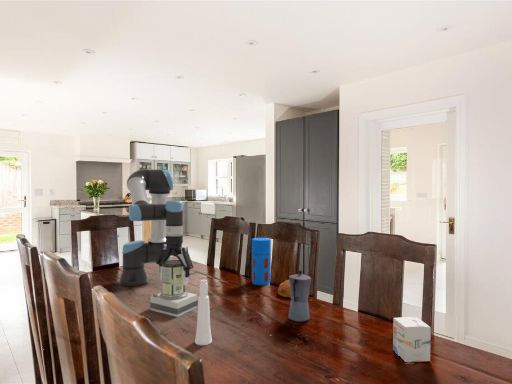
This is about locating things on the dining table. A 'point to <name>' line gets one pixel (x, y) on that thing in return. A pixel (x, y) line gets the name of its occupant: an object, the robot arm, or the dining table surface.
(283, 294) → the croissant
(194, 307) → the kitchen scale
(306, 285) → the moka pot
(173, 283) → the coffee can
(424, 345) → the ink box
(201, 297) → the cosmetic bottle
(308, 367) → the dining table surface
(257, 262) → the thermos
